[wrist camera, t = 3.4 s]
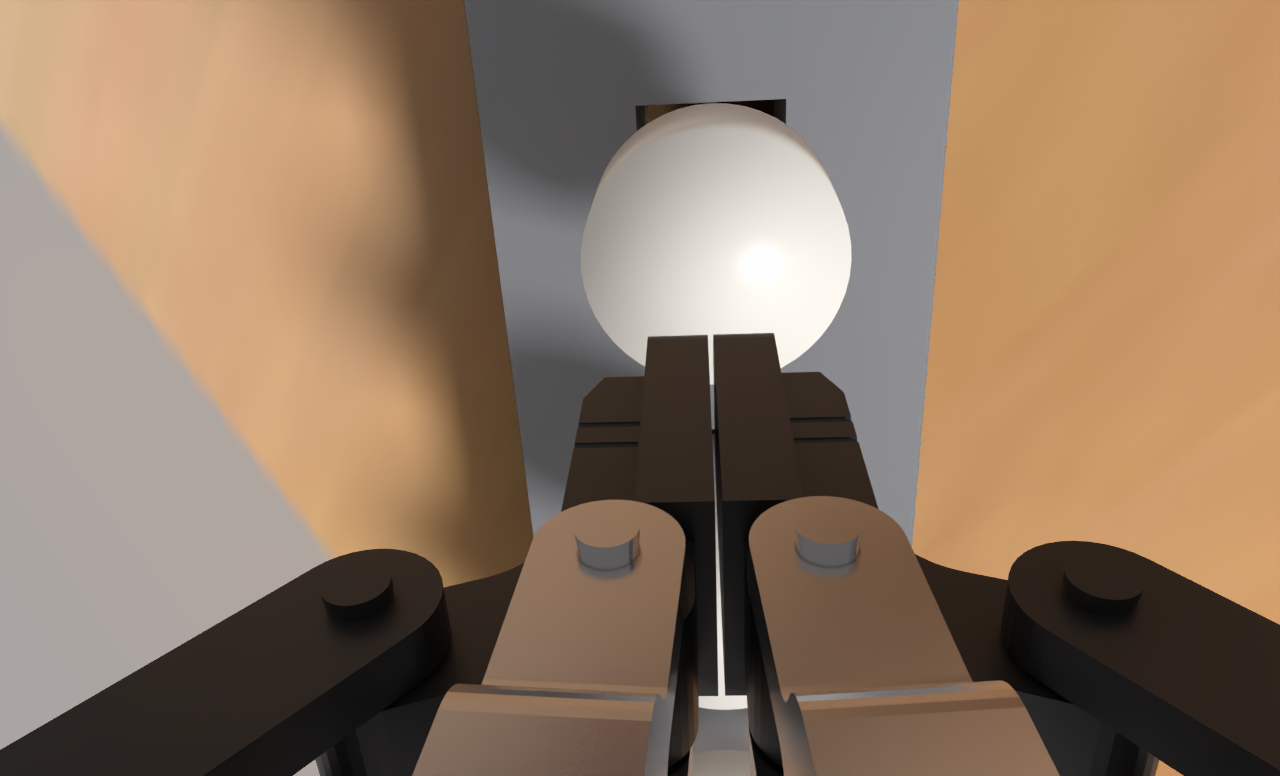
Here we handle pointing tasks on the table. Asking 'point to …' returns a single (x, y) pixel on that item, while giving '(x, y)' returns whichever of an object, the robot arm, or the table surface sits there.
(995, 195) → the table surface
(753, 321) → the knob
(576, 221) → the mount
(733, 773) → the knob
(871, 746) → the robot arm
